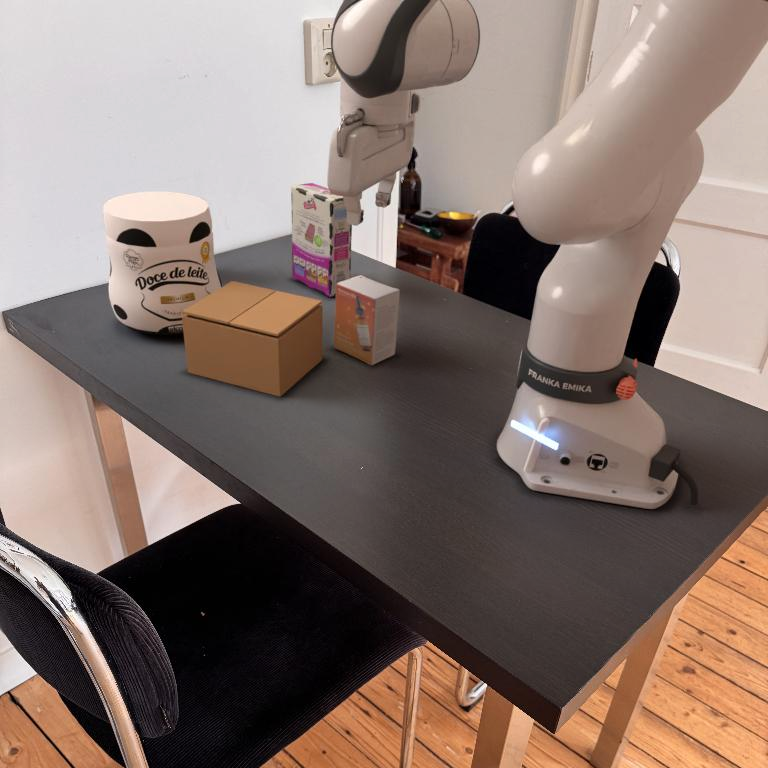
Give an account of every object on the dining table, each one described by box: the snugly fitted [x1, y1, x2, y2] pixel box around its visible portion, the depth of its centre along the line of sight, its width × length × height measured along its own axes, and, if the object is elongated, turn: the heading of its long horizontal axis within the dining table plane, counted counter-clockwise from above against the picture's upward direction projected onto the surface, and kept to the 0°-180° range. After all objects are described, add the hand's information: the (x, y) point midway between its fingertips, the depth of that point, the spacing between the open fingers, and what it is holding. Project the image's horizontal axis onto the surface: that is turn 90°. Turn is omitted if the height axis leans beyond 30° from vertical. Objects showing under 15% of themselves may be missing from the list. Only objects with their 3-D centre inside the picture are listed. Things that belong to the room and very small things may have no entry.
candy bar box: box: [290, 182, 353, 298], centre depth 137 cm, size 11×5×16 cm, turn 43°
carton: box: [182, 280, 323, 398], centre depth 112 cm, size 15×13×9 cm
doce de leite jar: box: [102, 190, 223, 336], centre depth 121 cm, size 17×17×18 cm
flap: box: [229, 290, 323, 336], centre depth 109 cm, size 7×13×1 cm, turn 157°
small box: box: [333, 274, 401, 366], centre depth 118 cm, size 8×6×10 cm
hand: (369, 214), depth 108 cm, fingers open, 8 cm apart
